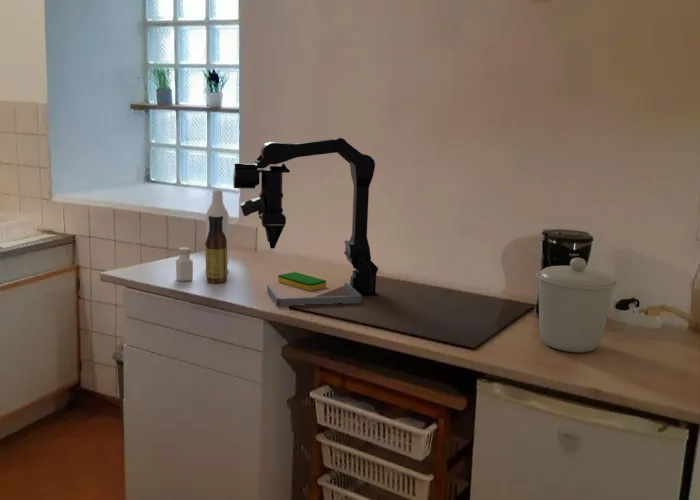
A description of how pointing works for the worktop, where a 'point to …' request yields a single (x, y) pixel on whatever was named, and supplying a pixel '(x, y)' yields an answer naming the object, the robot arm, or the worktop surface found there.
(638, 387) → the worktop surface
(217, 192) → the water bottle
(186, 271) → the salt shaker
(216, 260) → the sauce bottle
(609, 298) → the canister
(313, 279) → the dish sponge
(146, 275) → the worktop surface
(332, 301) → the box
